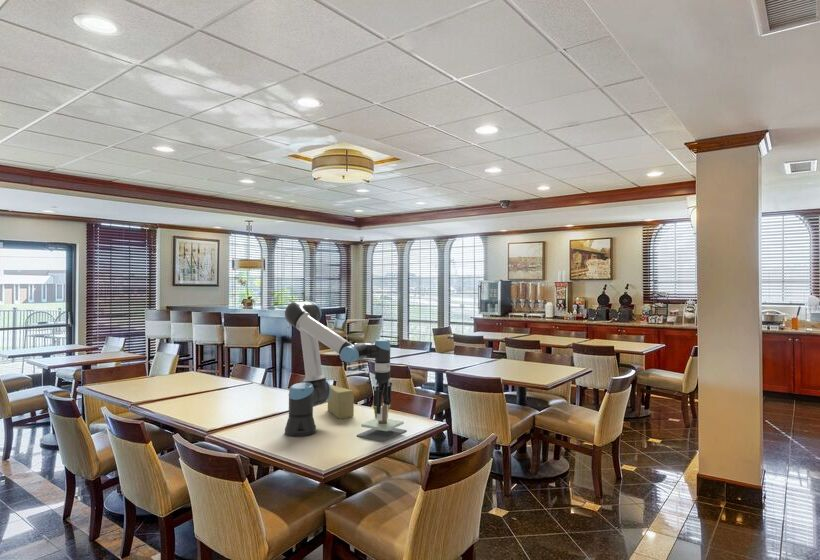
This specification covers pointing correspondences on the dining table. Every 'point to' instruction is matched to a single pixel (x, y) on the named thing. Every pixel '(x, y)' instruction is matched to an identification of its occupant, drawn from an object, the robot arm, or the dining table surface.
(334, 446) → the dining table surface
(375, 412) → the plant pot
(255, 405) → the dining table surface
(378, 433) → the mat
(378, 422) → the lid
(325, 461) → the dining table surface
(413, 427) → the dining table surface
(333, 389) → the cheese
